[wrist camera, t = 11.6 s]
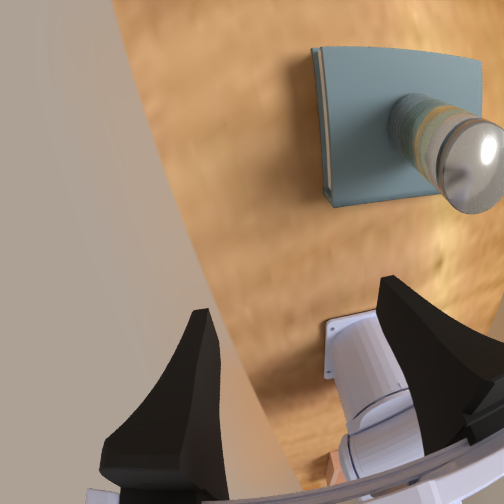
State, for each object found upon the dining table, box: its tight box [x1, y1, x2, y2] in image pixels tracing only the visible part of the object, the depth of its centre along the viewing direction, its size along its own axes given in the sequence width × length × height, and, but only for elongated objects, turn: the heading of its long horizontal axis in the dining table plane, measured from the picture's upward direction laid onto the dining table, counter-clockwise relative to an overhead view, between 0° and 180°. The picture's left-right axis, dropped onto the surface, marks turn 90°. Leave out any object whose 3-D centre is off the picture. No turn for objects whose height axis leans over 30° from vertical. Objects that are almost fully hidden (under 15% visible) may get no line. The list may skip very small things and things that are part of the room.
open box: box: [325, 451, 347, 486], centre depth 52 cm, size 17×17×4 cm
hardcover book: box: [312, 46, 482, 208], centre depth 18 cm, size 10×12×2 cm
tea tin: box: [387, 93, 504, 214], centre depth 14 cm, size 5×5×7 cm
